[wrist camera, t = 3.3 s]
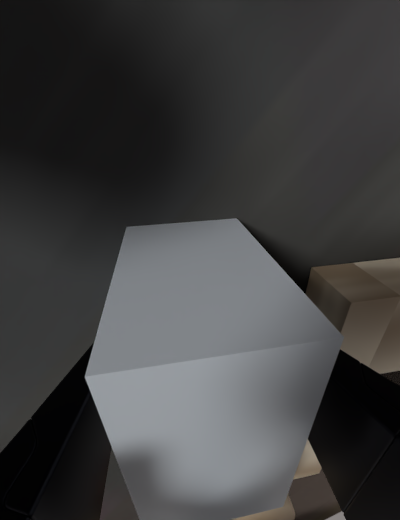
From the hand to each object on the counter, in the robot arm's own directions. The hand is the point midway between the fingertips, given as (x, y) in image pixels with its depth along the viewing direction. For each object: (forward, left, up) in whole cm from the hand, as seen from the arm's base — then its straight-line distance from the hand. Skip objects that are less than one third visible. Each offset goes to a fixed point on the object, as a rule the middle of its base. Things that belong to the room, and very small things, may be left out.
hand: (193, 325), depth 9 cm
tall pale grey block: (0, 0, -2) cm, 2 cm away
